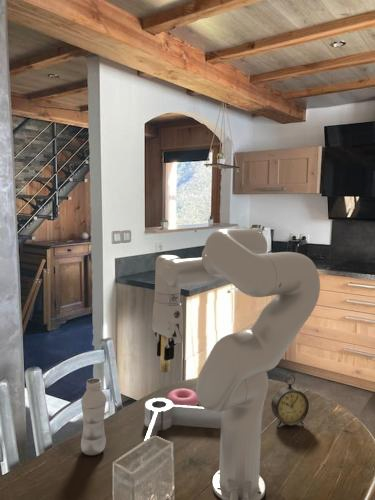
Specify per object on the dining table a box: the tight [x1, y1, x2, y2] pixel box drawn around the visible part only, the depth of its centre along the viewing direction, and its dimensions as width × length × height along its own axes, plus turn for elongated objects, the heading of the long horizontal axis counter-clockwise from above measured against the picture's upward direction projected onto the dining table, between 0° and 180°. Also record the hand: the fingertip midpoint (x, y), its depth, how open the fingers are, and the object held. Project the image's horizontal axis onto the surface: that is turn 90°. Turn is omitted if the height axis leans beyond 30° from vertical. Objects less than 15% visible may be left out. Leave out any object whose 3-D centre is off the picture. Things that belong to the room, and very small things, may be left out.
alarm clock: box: [270, 374, 310, 429], centre depth 127 cm, size 11×5×16 cm, turn 104°
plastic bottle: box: [80, 377, 107, 456], centre depth 111 cm, size 6×7×20 cm
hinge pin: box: [159, 335, 172, 373], centre depth 123 cm, size 3×3×11 cm
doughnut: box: [165, 387, 199, 406], centre depth 139 cm, size 11×11×4 cm
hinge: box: [143, 397, 222, 442], centre depth 118 cm, size 24×24×6 cm
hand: (165, 356), depth 123 cm, fingers closed on hinge pin, 3 cm apart
